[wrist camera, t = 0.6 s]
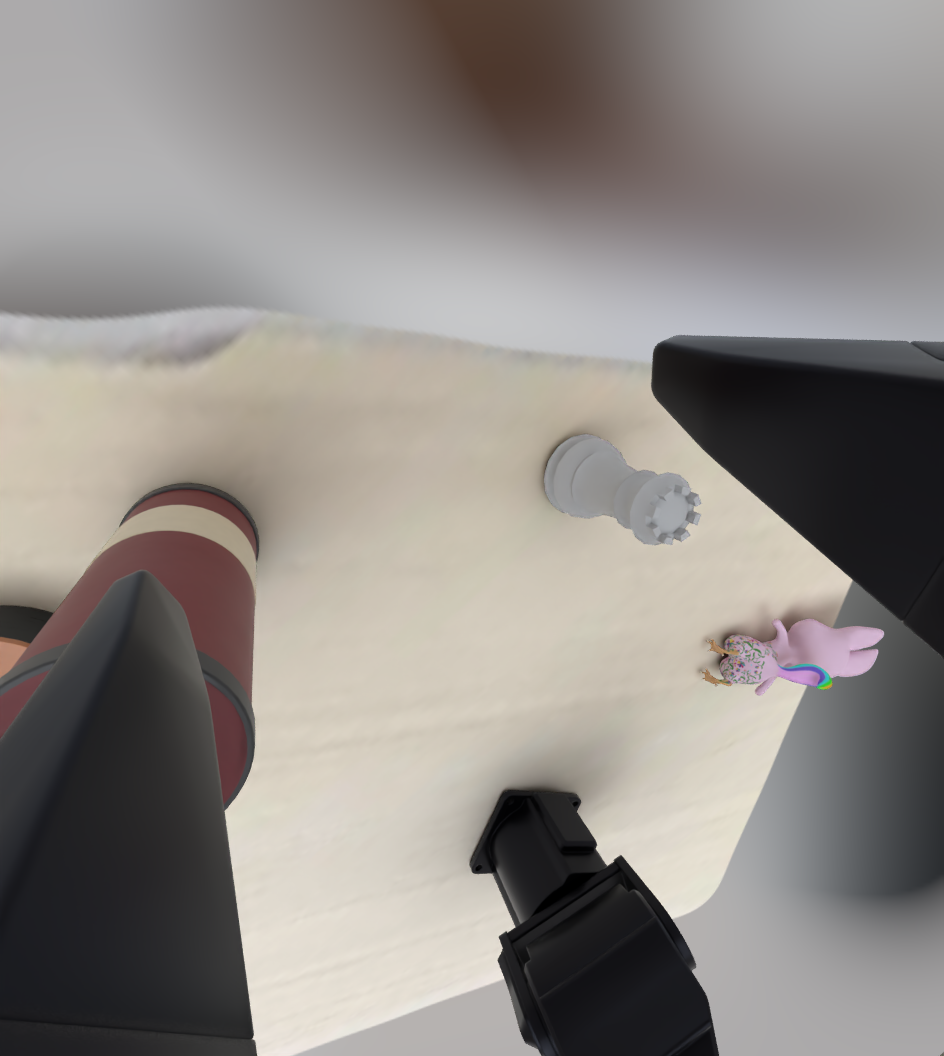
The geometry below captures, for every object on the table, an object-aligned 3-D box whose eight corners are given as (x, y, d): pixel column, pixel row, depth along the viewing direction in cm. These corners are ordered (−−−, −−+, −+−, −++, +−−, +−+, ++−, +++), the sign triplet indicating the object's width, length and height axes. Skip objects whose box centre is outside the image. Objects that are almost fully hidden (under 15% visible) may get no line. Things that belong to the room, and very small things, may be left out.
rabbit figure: (684, 682, 40) (850, 665, 43) (736, 736, 34) (922, 713, 37) (698, 608, 38) (871, 596, 41) (756, 654, 32) (951, 636, 35)
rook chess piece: (562, 419, 27) (665, 446, 20) (623, 450, 29) (736, 485, 22) (526, 497, 28) (614, 549, 21) (588, 522, 30) (687, 577, 23)
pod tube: (239, 609, 25) (216, 866, 13) (105, 584, 22) (-81, 871, 10) (274, 503, 24) (286, 672, 12) (138, 466, 21) (-24, 628, 9)
